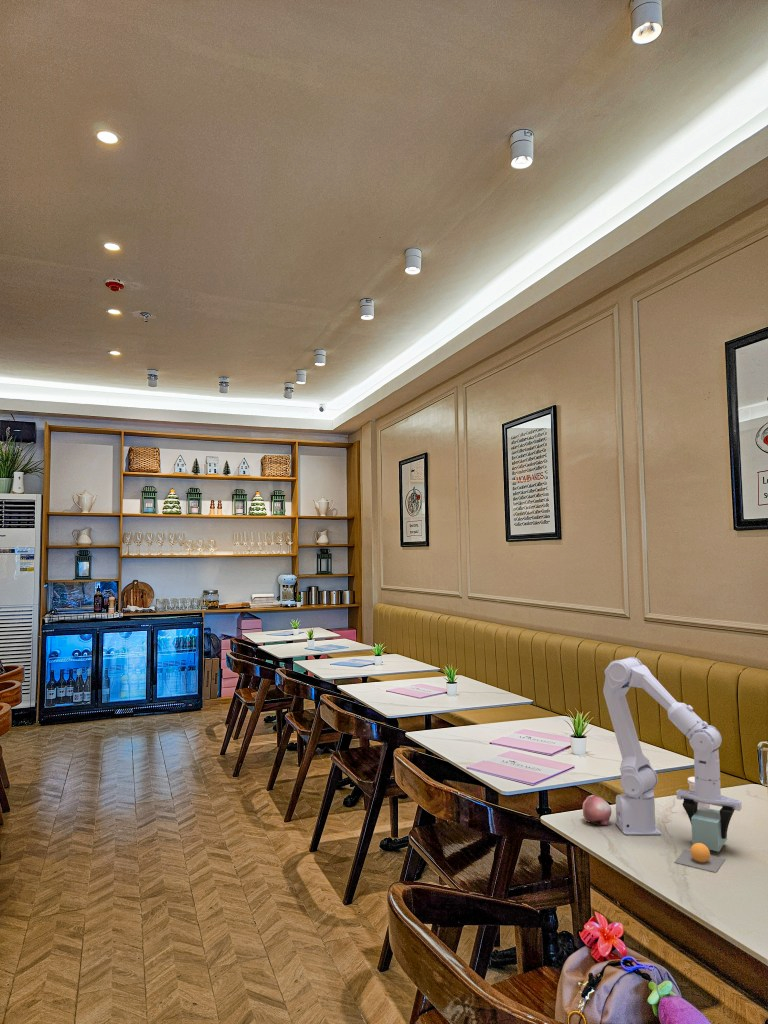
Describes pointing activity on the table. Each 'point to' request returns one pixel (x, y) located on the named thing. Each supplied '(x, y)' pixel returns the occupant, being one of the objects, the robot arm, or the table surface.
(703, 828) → the light blue upright block
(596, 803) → the onion
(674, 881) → the table surface
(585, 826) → the table surface
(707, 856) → the ball
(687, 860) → the tape square
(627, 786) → the robot arm
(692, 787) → the smoothie
